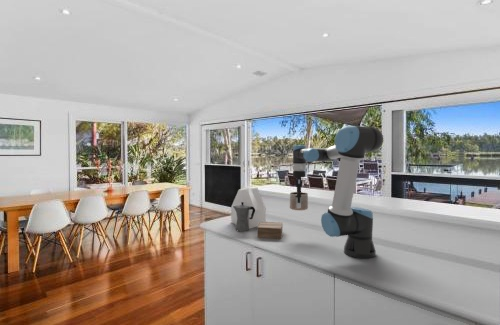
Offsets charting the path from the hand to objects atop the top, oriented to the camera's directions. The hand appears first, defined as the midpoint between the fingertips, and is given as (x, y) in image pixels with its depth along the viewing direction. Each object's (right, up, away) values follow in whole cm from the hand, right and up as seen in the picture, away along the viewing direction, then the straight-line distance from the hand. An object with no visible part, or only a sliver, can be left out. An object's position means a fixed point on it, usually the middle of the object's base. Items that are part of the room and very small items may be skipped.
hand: (298, 206), depth 181 cm
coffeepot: (-34, -17, +13) cm, 40 cm away
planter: (0, -2, 0) cm, 2 cm away
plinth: (-17, -18, +2) cm, 25 cm away
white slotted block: (-31, -17, +28) cm, 45 cm away
